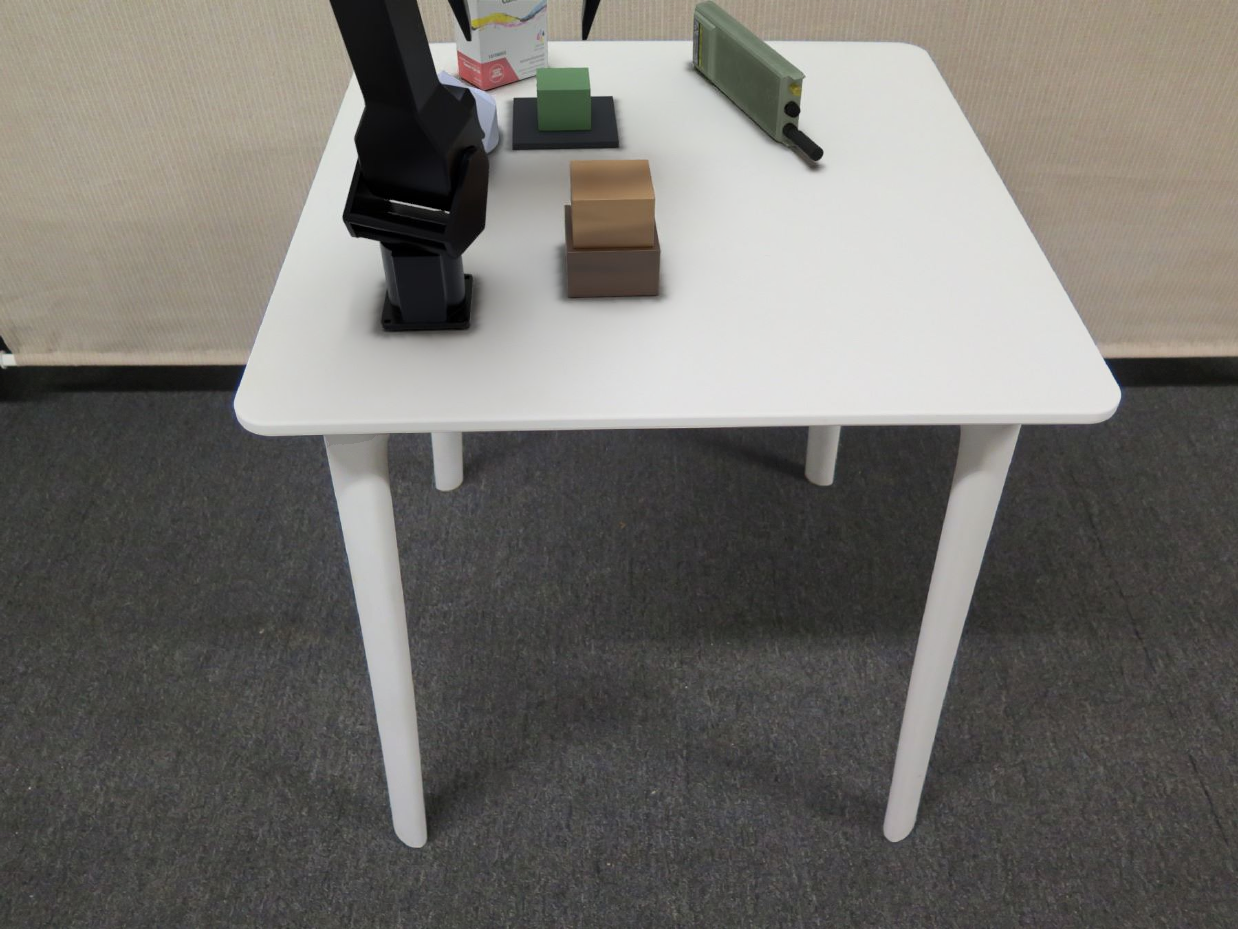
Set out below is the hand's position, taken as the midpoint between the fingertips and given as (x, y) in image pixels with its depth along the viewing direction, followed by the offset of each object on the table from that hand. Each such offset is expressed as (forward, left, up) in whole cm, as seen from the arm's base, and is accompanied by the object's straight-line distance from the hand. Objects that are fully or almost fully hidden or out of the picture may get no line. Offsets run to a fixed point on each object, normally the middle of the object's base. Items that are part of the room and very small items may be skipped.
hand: (526, 38), depth 81 cm
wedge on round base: (+7, +8, -13) cm, 17 cm away
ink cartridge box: (+24, +3, -13) cm, 27 cm away
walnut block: (-14, -6, -13) cm, 20 cm away
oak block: (-14, -6, -9) cm, 18 cm away
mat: (+12, -3, -13) cm, 18 cm away
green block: (+12, -3, -12) cm, 17 cm away
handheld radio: (+14, -22, -13) cm, 29 cm away
